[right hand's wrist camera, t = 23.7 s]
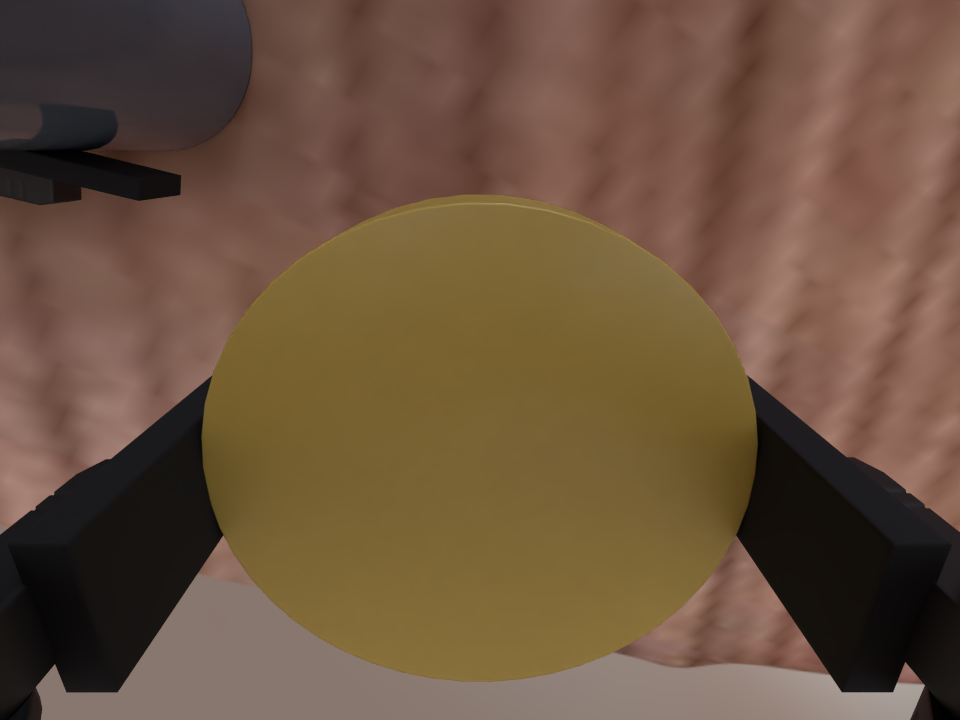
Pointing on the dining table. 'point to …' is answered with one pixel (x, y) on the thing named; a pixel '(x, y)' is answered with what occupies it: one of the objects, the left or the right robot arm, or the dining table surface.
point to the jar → (120, 73)
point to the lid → (479, 440)
